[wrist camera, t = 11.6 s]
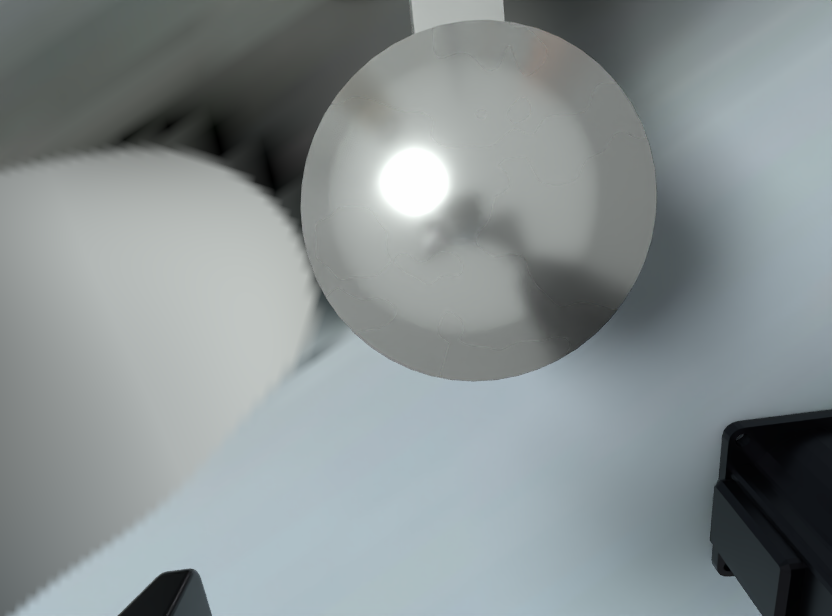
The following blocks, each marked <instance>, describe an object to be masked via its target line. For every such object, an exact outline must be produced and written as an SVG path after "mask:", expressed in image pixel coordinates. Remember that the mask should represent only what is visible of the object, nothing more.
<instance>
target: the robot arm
mask: <svg viewBox="0 0 832 616" xmlns="http://www.w3.org/2000/svg"><path fill="white" fill-rule="evenodd" d="M742 434H743V436H742V437H741V438H740V439H738V440H736V438H737V437H738V436H739V435H742ZM710 541H711V543H712V544H713V550H712V564H713V565H714V567H715V568H716V570H717V571H718V573H719V574H720V575H722V576H735V577H736V578H737V580H738V581H739V583H740V584H741V586H742V587H743V589H744V590H745V591H746V593H747V594H748V596H749V597H750V599H751V600H752V601H753V603H754V604H755V606H756V607H757V609H758V610H759V611H760V613H761V614H762V616H832V410H825V411H817V412H809V413H801V414H793V415H785V416H777V417H769V418H761V419H753V420H745V421H737V422H734V423H732V424H730V425H729V426H727V427H726V429H725V430H724V432H723V435H722V446H721V457H720V469H719V480H718V481H717V483H716V485H715V487H714V496H713V508H712V520H711V532H710ZM118 616H212V614H211V611H210V607H209V604H208V601H207V597H206V594H205V591H204V587H203V584H202V581H201V578H200V575H199V574H198V572H197V571H196V570H194V569H183V570H175V571H167V572H164V573H162V574H160V575H159V576H158V577H156V578H155V579H154V580H153V581H152V582H151V583H150V584H149V585H148V586H147V587H146V588H145V589H144V590H143V591H142V592H141V593H140V594H139V595H138V596H137V597H136V598H135V599H134V600H133V601H132V602H131V603H130V604H129V605H128V606H127V607H126V608H125V609H124V610H123V611H122V612H121V613H120V614H119V615H118Z"/></svg>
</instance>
